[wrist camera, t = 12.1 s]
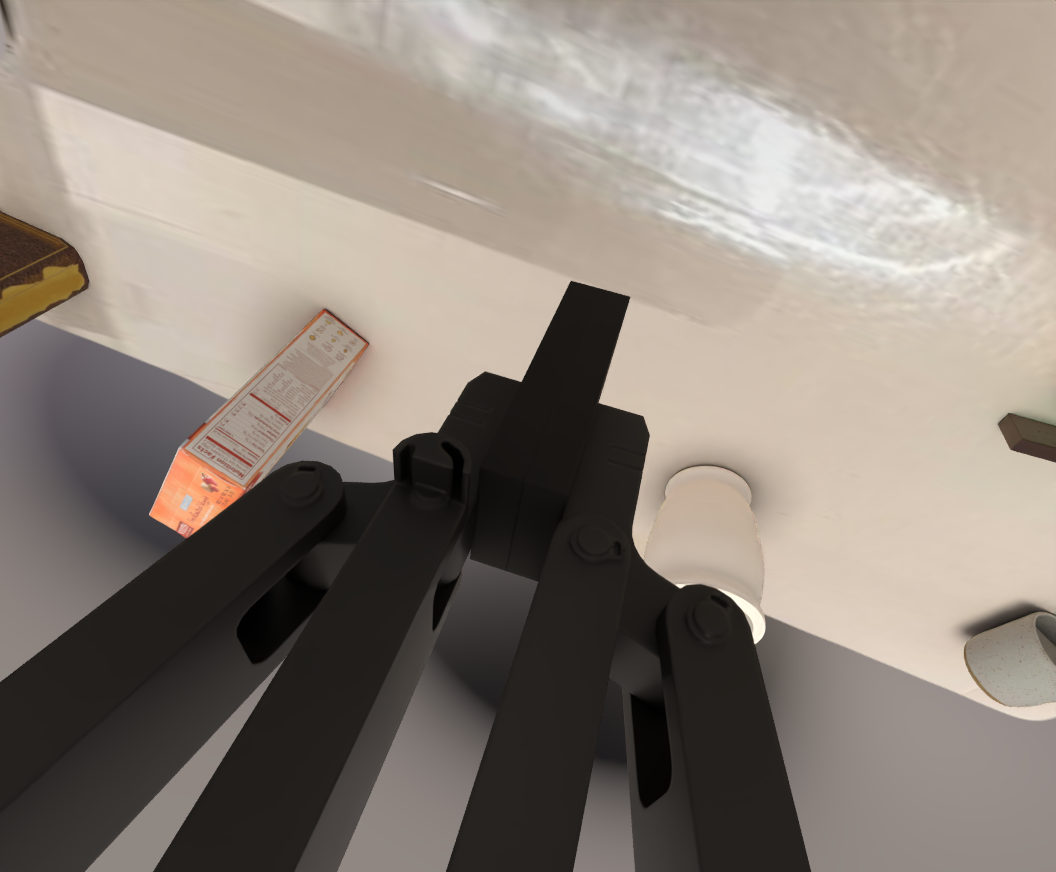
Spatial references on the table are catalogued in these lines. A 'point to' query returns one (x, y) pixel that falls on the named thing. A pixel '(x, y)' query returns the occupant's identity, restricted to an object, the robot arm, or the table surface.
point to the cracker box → (256, 425)
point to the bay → (1029, 437)
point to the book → (34, 273)
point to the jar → (710, 538)
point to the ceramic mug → (1016, 661)
